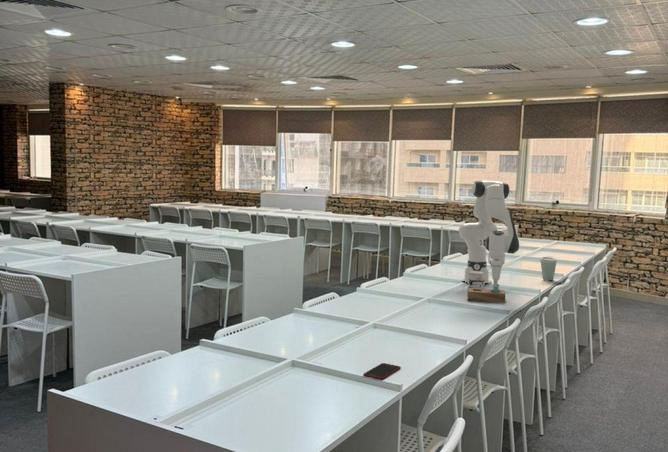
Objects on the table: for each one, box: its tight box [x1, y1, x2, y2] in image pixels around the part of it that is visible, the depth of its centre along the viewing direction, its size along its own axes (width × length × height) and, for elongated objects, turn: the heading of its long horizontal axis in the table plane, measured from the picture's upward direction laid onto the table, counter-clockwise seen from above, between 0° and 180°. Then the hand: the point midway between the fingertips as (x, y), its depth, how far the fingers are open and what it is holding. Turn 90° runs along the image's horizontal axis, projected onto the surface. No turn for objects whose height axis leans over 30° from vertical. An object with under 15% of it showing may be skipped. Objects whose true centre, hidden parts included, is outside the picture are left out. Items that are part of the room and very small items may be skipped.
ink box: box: [467, 271, 485, 289], centre depth 341 cm, size 8×5×12 cm, turn 62°
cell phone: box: [363, 362, 402, 381], centre depth 200 cm, size 8×15×1 cm, turn 147°
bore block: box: [467, 287, 506, 304], centre depth 319 cm, size 12×20×5 cm, turn 75°
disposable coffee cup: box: [540, 256, 558, 281], centre depth 380 cm, size 11×11×15 cm
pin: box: [492, 283, 500, 292], centre depth 317 cm, size 3×3×8 cm
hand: (495, 284), depth 317 cm, fingers open, 8 cm apart
